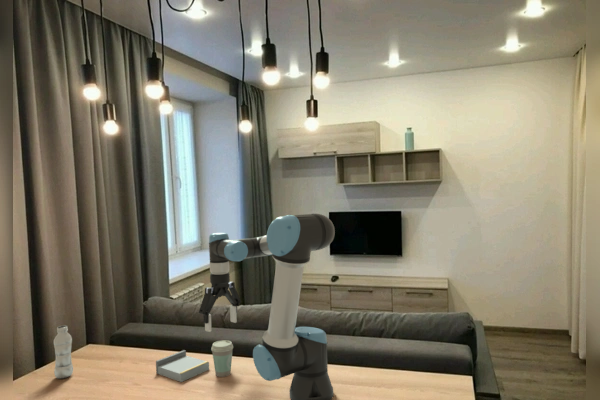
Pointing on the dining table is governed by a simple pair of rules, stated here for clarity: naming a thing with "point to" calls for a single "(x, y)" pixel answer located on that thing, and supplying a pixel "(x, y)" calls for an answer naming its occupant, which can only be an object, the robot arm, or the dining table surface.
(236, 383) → the dining table surface
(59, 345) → the plastic bottle
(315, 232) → the robot arm
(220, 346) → the coffee cup
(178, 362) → the plate
